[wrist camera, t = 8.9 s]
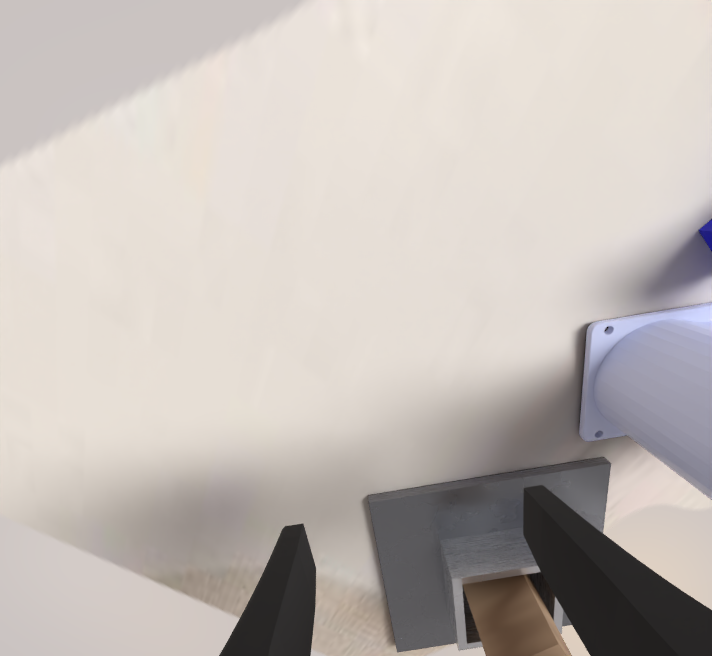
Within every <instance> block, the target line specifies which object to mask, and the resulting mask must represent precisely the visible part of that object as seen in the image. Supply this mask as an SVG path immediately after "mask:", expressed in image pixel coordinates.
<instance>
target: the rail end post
mask: <svg viewBox="0 0 712 656" xmlns="http://www.w3.org/2000/svg"><path fill="white" fill-rule="evenodd" d="M462 585H463V588H464V591H465V594H466V597H467V600H468V603H469V606H470V609H471V612H472V615H473V618H474V621H475V624H476V627H477V630H478V633H479V636H480V639H481V642H482V645H483V648H484V651H485V654H486V656H572V655H571V653H570V651H569V649H568V648H567V646H566V644H565V642H564V640H563V638H562V636H561V634H560V632H559V630H558V629H557V627H556V625H555V623H554V621H553V619H552V617H551V615H550V613H549V611H548V610H547V608H546V606H545V604H544V602H543V600H542V598H541V596H540V594H539V592H538V591H537V589H536V587H535V585H534V583H533V581H532V579H531V577H530V575H529V574H525V575H518V576H512V577H506V578H500V579H493V580H487V581H481V582H475V583H468V584H462Z"/></svg>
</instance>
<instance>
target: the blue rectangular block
mask: <svg viewBox="0 0 712 656" xmlns="http://www.w3.org/2000/svg"><path fill="white" fill-rule="evenodd" d="M699 232H700V234H701V235H702V237H703V238H704V240H705V242H706V243H707V245H708V247H709V248H710V250H711V251H712V219H711V220H710V221H709V222H708V223H706V224H705V225H704V226H703V227H702V228H700V229H699Z"/></svg>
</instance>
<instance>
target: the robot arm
mask: <svg viewBox="0 0 712 656" xmlns="http://www.w3.org/2000/svg"><path fill="white" fill-rule="evenodd" d="M606 327H608V330H607V331H606V332H604V331H605V328H606ZM597 431H598V432H597ZM596 432H597V433H596ZM579 435H580V437H581V438H582V439H583V440H584V441H587V442H590V441H596V440H602V439H608V438H614V437H621V436H629V437H630V438H631V439H633V440H634V441H635V442H637V443H638V444H639V445H640V446H642V447H643V448H644V449H646V450H647V451H648V452H650V453H651V454H652V455H654V456H655V457H656V458H657V459H659V460H660V461H661V462H663V463H664V464H665V465H667V466H668V467H669V468H671V469H672V470H673V471H674V472H676V473H677V474H678V475H680V476H681V477H682V478H684V479H685V480H686V481H688V482H689V483H690V484H691V485H693V486H694V487H695V488H697V489H698V490H699V491H701V492H702V493H703V494H705V495H706V496H707V497H708V498H710V499H711V500H712V302H711V303H705V304H699V305H693V306H687V307H681V308H675V309H669V310H663V311H657V312H651V313H645V314H639V315H633V316H627V317H621V318H615V319H609V320H603V321H597V322H594V323H592V324H591V325H590V326H589V327H588V329H587V336H586V349H585V363H584V376H583V390H582V403H581V416H580V430H579ZM523 535H524V537H525V540H526V542H527V544H528V546H529V548H530V550H531V553H532V555H533V557H534V559H535V561H536V563H537V565H538V567H539V569H540V571H541V573H542V575H543V576H544V578H545V580H546V582H547V583H548V585H549V587H550V588H551V590H552V592H553V593H554V595H555V597H556V598H557V600H558V602H559V604H560V605H561V607H562V609H563V610H564V612H565V614H566V615H567V617H568V619H569V620H570V622H571V624H572V625H573V627H574V629H575V630H576V632H577V633H578V635H579V637H580V639H581V640H582V642H583V644H584V645H585V647H586V648H587V650H588V652H589V654H590V655H591V656H712V610H711V609H709V608H707V607H706V606H704V605H703V604H701V603H700V602H698V601H696V600H695V599H694V598H692V597H690V596H689V595H687V594H686V593H684V592H683V591H681V590H680V589H678V588H677V587H675V586H674V585H672V584H671V583H669V582H668V581H667V580H665V579H664V578H662V577H661V576H659V575H658V574H657V573H655V572H654V571H653V570H651V569H650V568H648V567H647V566H646V565H644V564H643V563H641V562H640V561H638V560H637V559H636V558H635V557H633V556H632V555H631V554H629V553H628V552H626V551H625V550H624V549H622V548H621V547H620V546H619V545H617V544H616V543H615V542H613V541H612V540H611V539H609V538H608V537H607V536H606V535H604V534H603V533H602V532H600V531H599V530H598V529H597V528H595V527H594V526H593V525H591V524H590V523H589V522H588V521H586V520H585V519H584V518H583V517H581V516H580V515H579V514H578V513H577V512H575V511H574V510H573V509H572V508H570V507H569V506H568V505H567V504H566V503H564V502H563V501H562V500H561V499H559V498H558V497H557V496H556V495H555V494H553V493H552V492H551V491H550V490H548V489H547V488H546V487H545V486H543V485H538V486H532V487H526V488H524V497H523ZM315 596H316V567H315V563H314V560H313V556H312V553H311V549H310V546H309V542H308V539H307V535H306V531H305V528H304V524H297V525H291V526H285V527H284V528H283V529H282V531H281V534H280V536H279V539H278V541H277V543H276V546H275V548H274V550H273V552H272V555H271V557H270V559H269V561H268V563H267V566H266V568H265V570H264V572H263V574H262V576H261V578H260V580H259V582H258V584H257V586H256V588H255V590H254V592H253V594H252V596H251V598H250V600H249V602H248V604H247V606H246V608H245V610H244V612H243V614H242V616H241V618H240V619H239V621H238V623H237V625H236V627H235V629H234V630H233V632H232V634H231V636H230V638H229V640H228V641H227V643H226V645H225V647H224V648H223V650H222V652H221V654H220V655H219V656H310V654H311V644H312V635H313V625H314V615H315Z"/></svg>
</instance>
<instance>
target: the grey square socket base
mask: <svg viewBox="0 0 712 656" xmlns="http://www.w3.org/2000/svg"><path fill="white" fill-rule="evenodd" d="M610 468H611V463H610V462H609V461H608V460H607V459H606V458H604V457H602V458H596V459H589V460H583V461H577V462H571V463H565V464H559V465H552V466H546V467H540V468H534V469H528V470H522V471H515V472H509V473H503V474H497V475H491V476H485V477H479V478H472V479H466V480H460V481H454V482H448V483H442V484H435V485H429V486H423V487H417V488H411V489H405V490H398V491H392V492H386V493H380V494H374V495H368V501H369V507H370V512H371V517H372V523H373V528H374V533H375V538H376V543H377V549H378V554H379V559H380V564H381V570H382V575H383V580H384V585H385V591H386V596H387V601H388V606H389V611H390V617H391V622H392V627H393V632H394V638H395V643H396V648H397V652H403V651H410V650H416V649H422V648H429V647H435V646H441V645H448V644H454V643H457V646H458V650H465V649H471V648H477V647H483V645H482V642H481V639H480V636H479V633H478V630H477V627H476V624H475V621H474V618H473V615H472V612H471V609H470V606H469V603H468V600H467V597H466V594H465V591H464V588H463V585H462V584H468V583H475V582H481V581H487V580H493V579H500V578H506V577H512V576H518V575H525V574H529V575H530V577H531V579H532V581H533V583H534V585H535V587H536V589H537V591H538V592H539V594H540V596H541V598H542V600H543V602H544V604H545V606H546V608H547V610H548V611H549V613H550V615H551V617H552V619H553V621H554V623H555V625H556V627H557V629H558V630H559V632H560V634H562V626H567V625H572V624H571V622H570V620H569V619H568V617H567V615H566V614H565V612H564V610H563V609H562V607H561V605H560V604H559V602H558V600H557V598H556V597H555V595H554V593H553V592H552V590H551V588H550V587H549V585H548V583H547V582H546V580H545V578H544V576H543V575H542V573H541V571H540V569H539V567H538V565H537V563H536V561H535V559H534V557H533V555H532V553H531V550H530V548H529V546H528V544H527V542H526V540H525V537H524V535H523V497H524V488H526V487H532V486H538V485H543V486H545V487H546V488H547V489H548V490H550V491H551V492H552V493H553V494H555V495H556V496H557V497H558V498H559V499H561V500H562V501H563V502H564V503H566V504H567V505H568V506H569V507H570V508H572V509H573V510H574V511H575V512H577V513H578V514H579V515H580V516H581V517H583V518H584V519H585V520H586V521H588V522H589V523H590V524H591V525H593V526H594V527H595V528H597V529H598V530H599V531H600V532H602V533H603V528H604V519H605V511H606V502H607V493H608V485H609V476H610Z"/></svg>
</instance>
